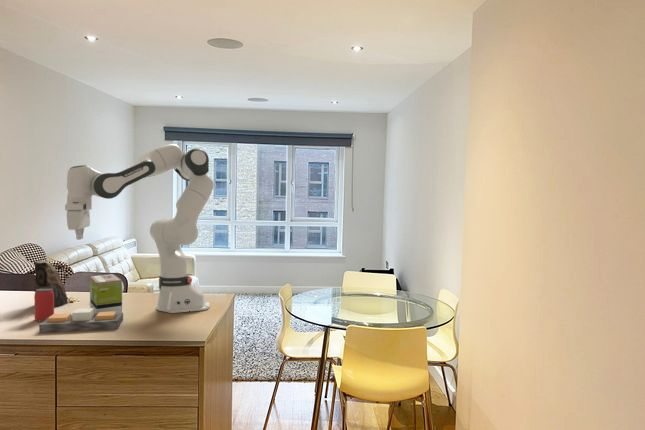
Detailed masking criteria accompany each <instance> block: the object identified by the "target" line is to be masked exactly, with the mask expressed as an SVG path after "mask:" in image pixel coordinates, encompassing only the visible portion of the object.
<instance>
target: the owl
mask: <svg viewBox="0 0 645 430" xmlns="http://www.w3.org/2000/svg"><path fill="white" fill-rule="evenodd" d="M33 265H34V269H33V270H34V273H35V276H34V284H35V285H34V287H33V291H34V293H35V292H36V290H37V289H40V288H52V290H53V293H54V309H56V308H59V307H61V306H62V307H63V306H65V305H67V304H69V302H68V300H69V299H68V296H67V292H66V288H65V286H64V283H63V281H62V278H61V276H60V274H59V272H58V270H57V268H56V267H55V266H54V265H53V264H52V263H51V262H49V261H46V260H42V259H39V260H35V261H34V263H33Z"/></svg>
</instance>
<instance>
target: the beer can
mask: <svg viewBox="0 0 645 430" xmlns="http://www.w3.org/2000/svg"><path fill="white" fill-rule="evenodd" d="M33 296H34V319H35V321H36V322H37V321H38V322H43V321H44V320H46V319H47V318H48V317H49V316H52V315H53V314H55V308H54V293H53V290H52V288H40V289H37V290H36V292H35V291H34V295H33Z"/></svg>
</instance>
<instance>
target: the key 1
mask: <svg viewBox="0 0 645 430" xmlns="http://www.w3.org/2000/svg"><path fill="white" fill-rule="evenodd" d="M71 315H72V313H70V312H69V313H54V314H53V315H52V316H50V317H49V318H48V322H67V321H68V320H69V319H70V318H71Z"/></svg>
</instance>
